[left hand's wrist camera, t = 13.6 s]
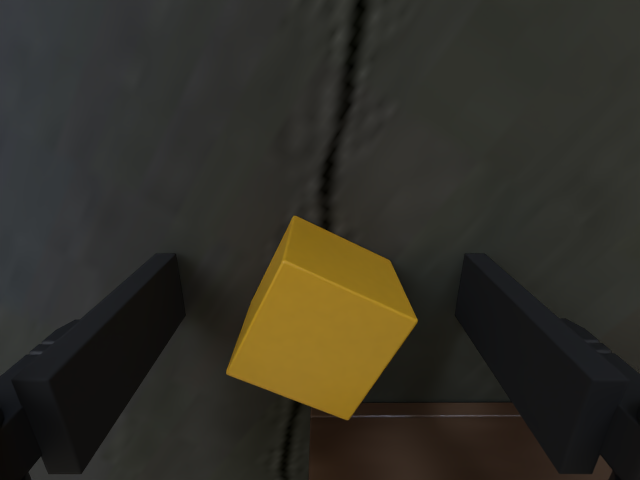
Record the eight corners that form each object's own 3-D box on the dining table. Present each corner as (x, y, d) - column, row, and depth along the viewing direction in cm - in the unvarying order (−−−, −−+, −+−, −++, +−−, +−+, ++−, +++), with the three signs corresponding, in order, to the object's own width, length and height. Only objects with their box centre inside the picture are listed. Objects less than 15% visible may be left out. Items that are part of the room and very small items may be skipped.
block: (251, 301, 14) (224, 375, 10) (293, 214, 13) (282, 259, 9) (341, 339, 15) (348, 422, 11) (390, 260, 13) (420, 321, 9)
